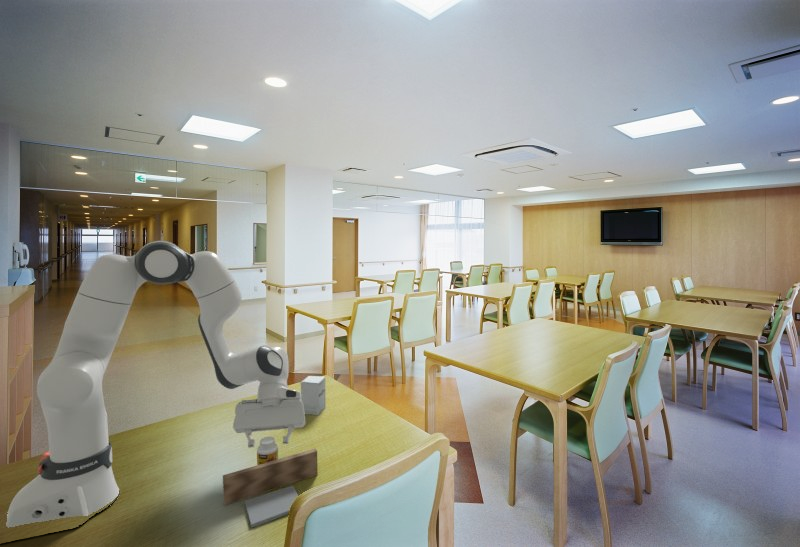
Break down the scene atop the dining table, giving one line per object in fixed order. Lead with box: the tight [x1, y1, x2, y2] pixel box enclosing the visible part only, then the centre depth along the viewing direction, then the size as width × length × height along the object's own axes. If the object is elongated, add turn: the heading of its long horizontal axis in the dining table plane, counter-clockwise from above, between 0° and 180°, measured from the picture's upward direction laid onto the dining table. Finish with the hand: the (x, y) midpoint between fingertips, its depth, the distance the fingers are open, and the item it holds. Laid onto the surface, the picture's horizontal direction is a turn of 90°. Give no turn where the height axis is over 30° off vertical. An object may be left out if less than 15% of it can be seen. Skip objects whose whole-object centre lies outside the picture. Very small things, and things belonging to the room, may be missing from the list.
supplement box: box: [300, 375, 327, 416], centre depth 145 cm, size 7×7×13 cm
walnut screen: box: [222, 448, 319, 506], centre depth 99 cm, size 24×2×7 cm, turn 121°
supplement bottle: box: [256, 436, 279, 466], centre depth 105 cm, size 6×6×10 cm
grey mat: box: [244, 485, 299, 528], centre depth 92 cm, size 12×9×1 cm
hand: (268, 445), depth 106 cm, fingers open, 8 cm apart
